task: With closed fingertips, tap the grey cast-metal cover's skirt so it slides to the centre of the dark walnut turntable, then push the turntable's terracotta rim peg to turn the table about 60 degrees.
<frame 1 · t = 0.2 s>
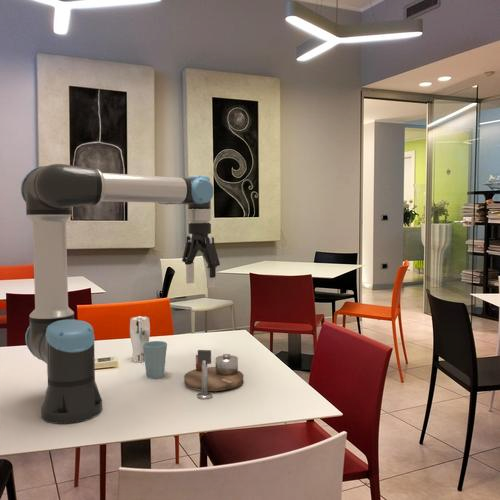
hand: (200, 285, 174), 28 cm above the table, fingers open, 13 cm apart
cover: (226, 372, 161), point 2 cm above the table, touching turntable
indicator post: (204, 396, 146), on the table
cup: (155, 376, 165), on the table
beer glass: (140, 360, 183), on the table
turntable: (213, 370, 158), point 4 cm above the table, hinge at 0.0°, touching cover
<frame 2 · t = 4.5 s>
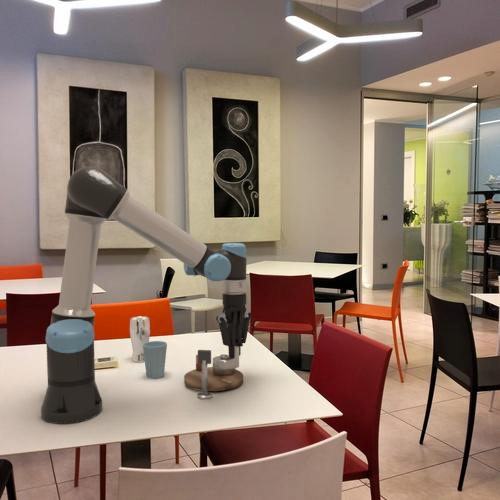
hand: (234, 366, 163), 4 cm above the table, fingers closed
cover: (224, 372, 161), point 2 cm above the table, touching gripper
turntable: (213, 370, 158), point 4 cm above the table, hinge at 0.0°
everything else where it was.
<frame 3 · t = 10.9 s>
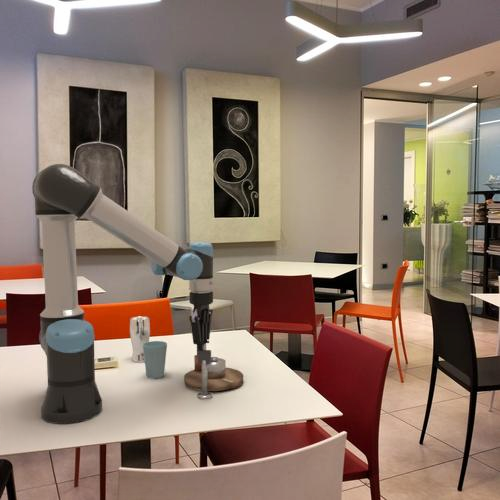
hand: (201, 363, 166), 4 cm above the table, fingers closed
cover: (214, 375, 158), point 2 cm above the table, touching turntable
turntable: (213, 370, 158), point 4 cm above the table, hinge at 4.2°, touching cover, gripper
everything else where it was.
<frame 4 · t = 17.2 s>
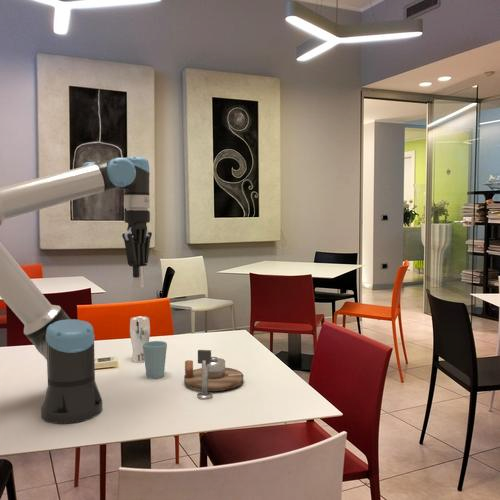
hand: (138, 287, 157), 29 cm above the table, fingers closed
turntable: (213, 370, 158), point 4 cm above the table, hinge at 56.8°, touching cover
everything else where it was.
at the end: cover 0.1 cm from the turntable (horizontally); turntable at +57° (first picture: +0°); cover tilted 0° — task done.
